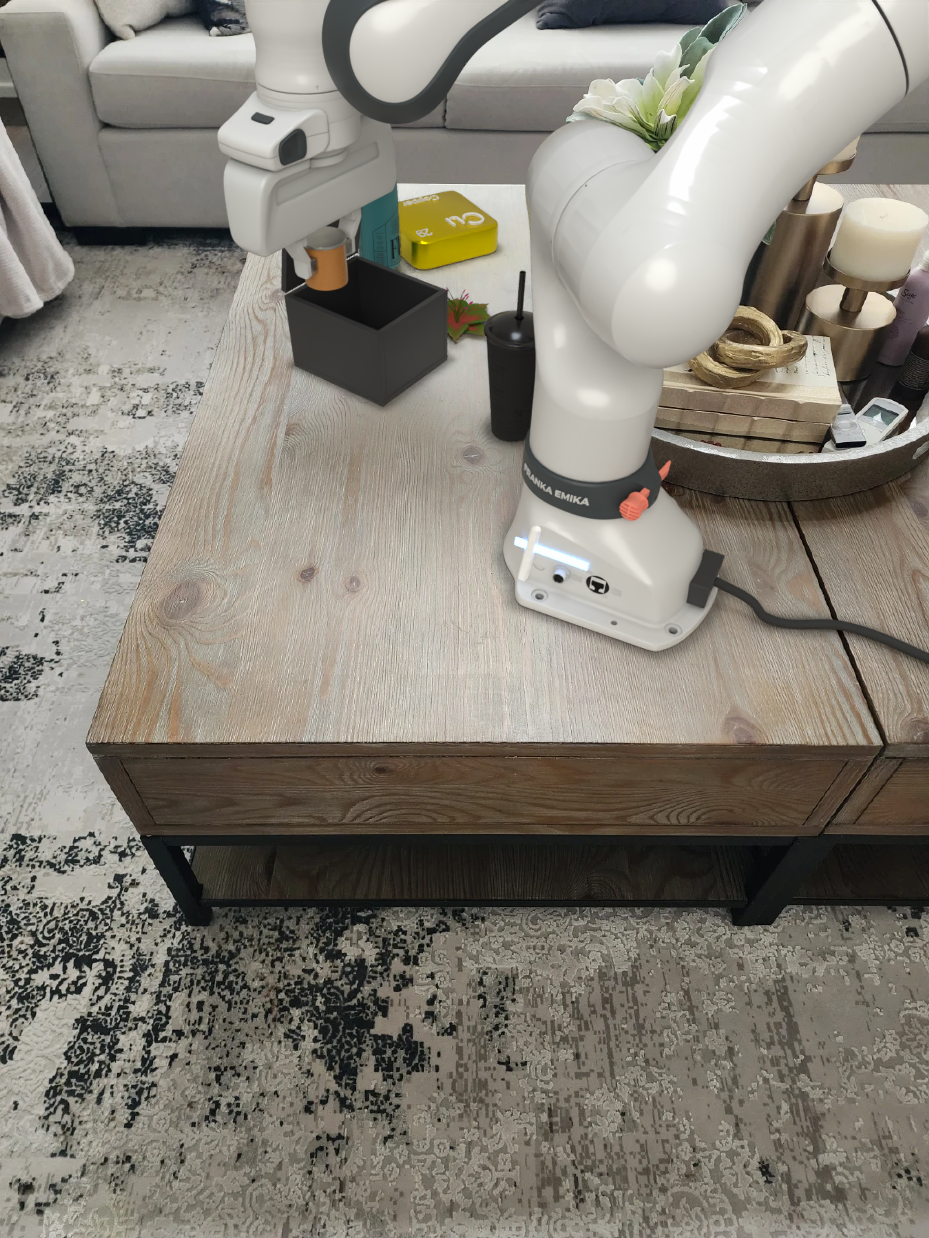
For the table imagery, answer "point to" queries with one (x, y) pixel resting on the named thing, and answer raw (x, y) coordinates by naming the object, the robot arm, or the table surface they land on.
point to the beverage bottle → (381, 231)
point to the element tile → (444, 230)
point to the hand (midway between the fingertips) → (326, 264)
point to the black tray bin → (370, 330)
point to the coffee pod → (328, 258)
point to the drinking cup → (511, 369)
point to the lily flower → (465, 317)
